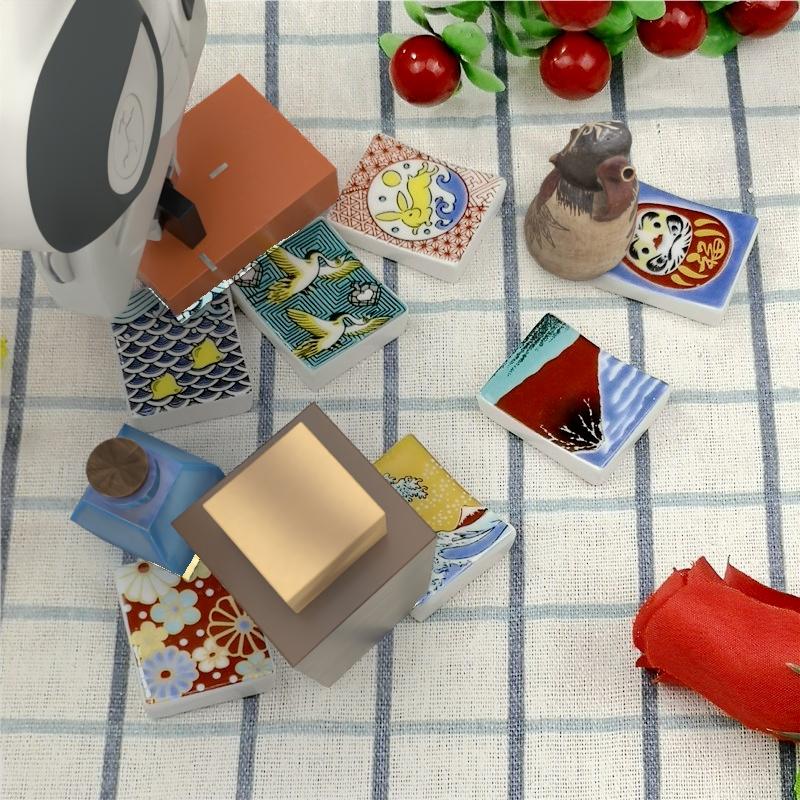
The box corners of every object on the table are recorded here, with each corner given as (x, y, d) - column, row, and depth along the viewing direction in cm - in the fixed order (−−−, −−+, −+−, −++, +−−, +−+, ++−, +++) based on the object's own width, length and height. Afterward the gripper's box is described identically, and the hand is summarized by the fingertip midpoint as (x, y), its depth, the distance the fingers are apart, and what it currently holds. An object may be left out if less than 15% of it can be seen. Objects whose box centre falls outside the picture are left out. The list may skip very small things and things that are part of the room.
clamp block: (162, 346, 66) (147, 322, 62) (65, 238, 69) (45, 208, 65) (343, 202, 70) (340, 170, 66) (244, 104, 72) (235, 67, 68)
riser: (328, 688, 59) (292, 668, 40) (242, 587, 61) (169, 522, 42) (428, 596, 61) (438, 535, 42) (340, 500, 63) (313, 400, 44)
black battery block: (207, 234, 64) (194, 201, 60) (192, 250, 64) (178, 217, 60) (133, 178, 66) (115, 142, 62) (118, 193, 65) (99, 158, 61)
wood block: (297, 614, 41) (286, 602, 37) (219, 525, 42) (201, 504, 38) (388, 532, 42) (386, 513, 38) (309, 447, 43) (300, 420, 39)
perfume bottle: (236, 491, 63) (199, 438, 52) (188, 581, 61) (139, 547, 50) (149, 451, 64) (94, 390, 53) (100, 539, 62) (32, 496, 51)
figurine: (609, 179, 70) (649, 71, 59) (643, 269, 68) (691, 175, 56) (511, 203, 69) (531, 99, 58) (542, 294, 67) (570, 205, 56)
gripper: (99, 263, 47) (165, 365, 60) (205, -82, 53) (244, 79, 66) (-31, 241, 47) (63, 347, 60) (90, -99, 54) (151, 64, 67)
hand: (158, 205), depth 63 cm, fingers closed on black battery block, 2 cm apart
